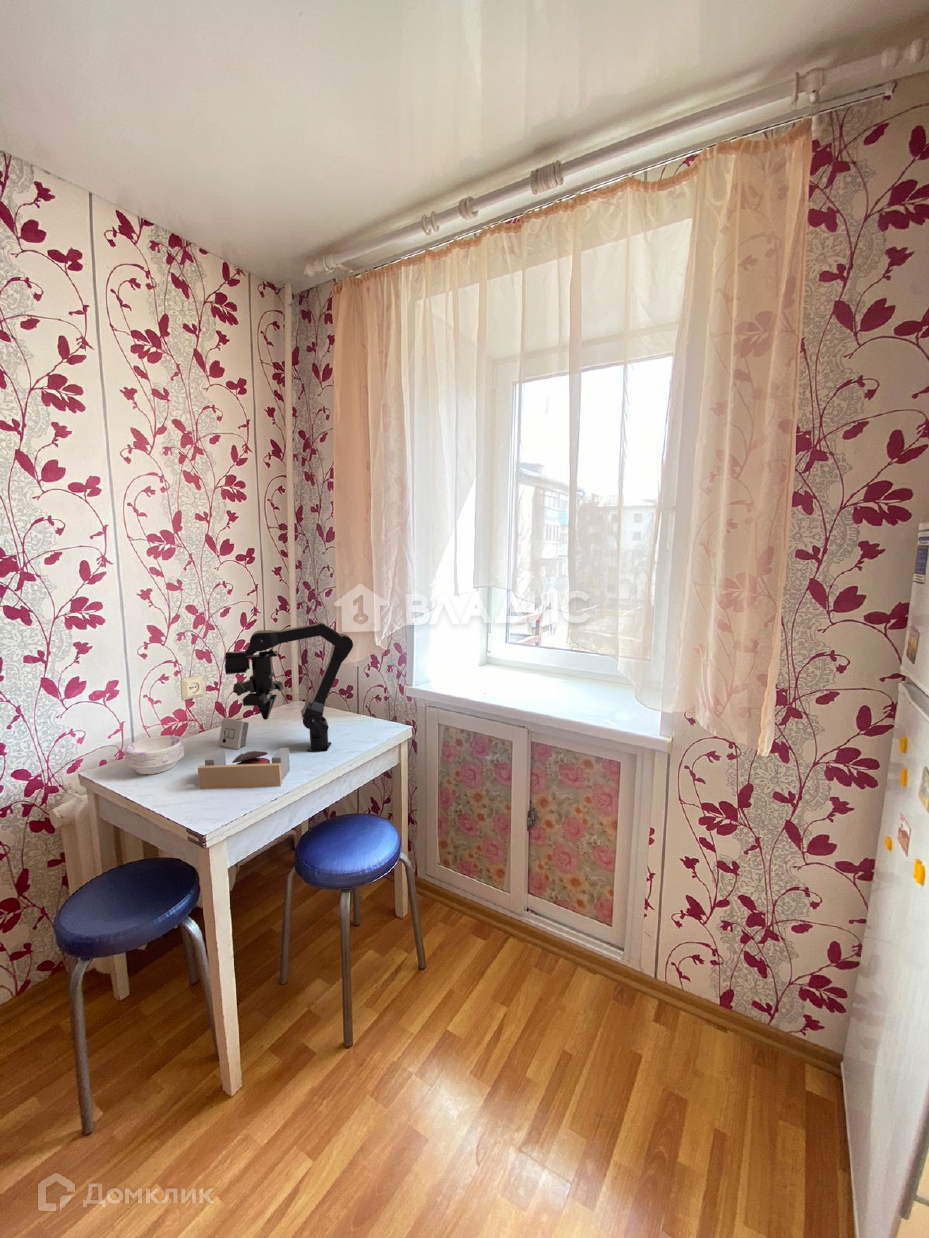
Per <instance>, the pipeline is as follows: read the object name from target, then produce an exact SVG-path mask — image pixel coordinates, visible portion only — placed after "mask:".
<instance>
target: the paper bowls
mask: <svg viewBox="0 0 929 1238" xmlns="http://www.w3.org/2000/svg"><path fill="white" fill-rule="evenodd" d="M184 743H185V741H184V739H183V737H181V736H178V735H157V736H156V735H155V736H152V737H146V738H142V739H139V740H136V741H134V742H132V743H130V744H127V746H126V747H125V748H124V760H125V761H124V762H125V766H127V768H130V769H133V770H134V771H135V772H136V773H137V774H140V775H146V774H148V775H156V774H159V773H160V774H161V773H164V772H166V771H169V770H171V769H172V768H174V767H175V766H176V764H177V763H178V761H180V760H181V759H182V758H183V757H184V755H185V744H184ZM155 773H156V774H155Z"/></svg>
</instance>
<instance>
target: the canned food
mask: <svg viewBox="0 0 929 1238" xmlns="http://www.w3.org/2000/svg"><path fill="white" fill-rule="evenodd" d="M268 754H269V753H268V752H267V751H261V750H260V751H258V750H251V751H247V752H243V753H240V754H239V755H237V756H236V757H235V758H234V759H233V760H232V762H231V763H232V764H235V763H236V764H235V765H238V764H267V763H271V760H270V759H268V758H266V757H264V756H267V755H268Z"/></svg>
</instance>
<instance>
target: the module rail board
mask: <svg viewBox="0 0 929 1238" xmlns="http://www.w3.org/2000/svg"><path fill="white" fill-rule="evenodd" d="M290 766H291V765H290V750H289V747H280V748H279V749H278V750H277V751H276V752H275V753H274V754H273V756H271V762H270V763H267V764H238V765H236V764H227V761H226V749H216V750H215V751H213V752H212V753H211V754H209V755H208V756H207V757H206V758H205V759H204V765H199V766H198V767H197V774H198V784H199V790H203V789H232V788H233V789H235V788H259V787H260V788H262V787H263V788H264V787H281V786H282V785H283V781H282V780H285V778H286V777H287V775H288V774H287V773H290V771H291V769H290ZM281 784H282V785H281Z"/></svg>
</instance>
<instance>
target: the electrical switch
mask: <svg viewBox="0 0 929 1238" xmlns="http://www.w3.org/2000/svg"><path fill="white" fill-rule="evenodd" d="M249 726H250V725H249V722H247V721H246V722H245V721H243V720H241V719H237V718H235V719H234V718H229V717H223V718H222V721H221V727H220V734H219V737H218V738H219V739H218V746H220V747H223V748H224V747H225V748H230V749H233V750H240V748H241V747H246V743H247V737H248V731H249Z"/></svg>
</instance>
